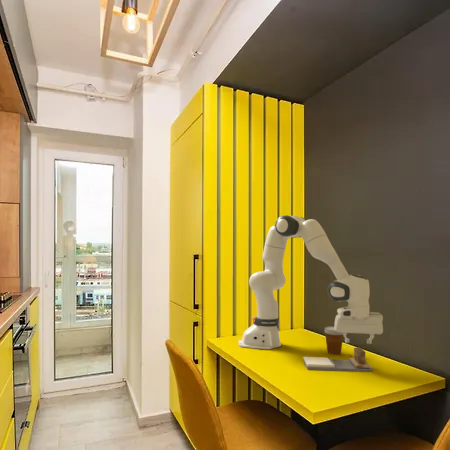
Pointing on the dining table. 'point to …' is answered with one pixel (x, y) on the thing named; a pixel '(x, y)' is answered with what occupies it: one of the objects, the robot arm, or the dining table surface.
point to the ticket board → (331, 364)
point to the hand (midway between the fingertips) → (358, 343)
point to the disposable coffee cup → (333, 341)
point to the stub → (359, 359)
